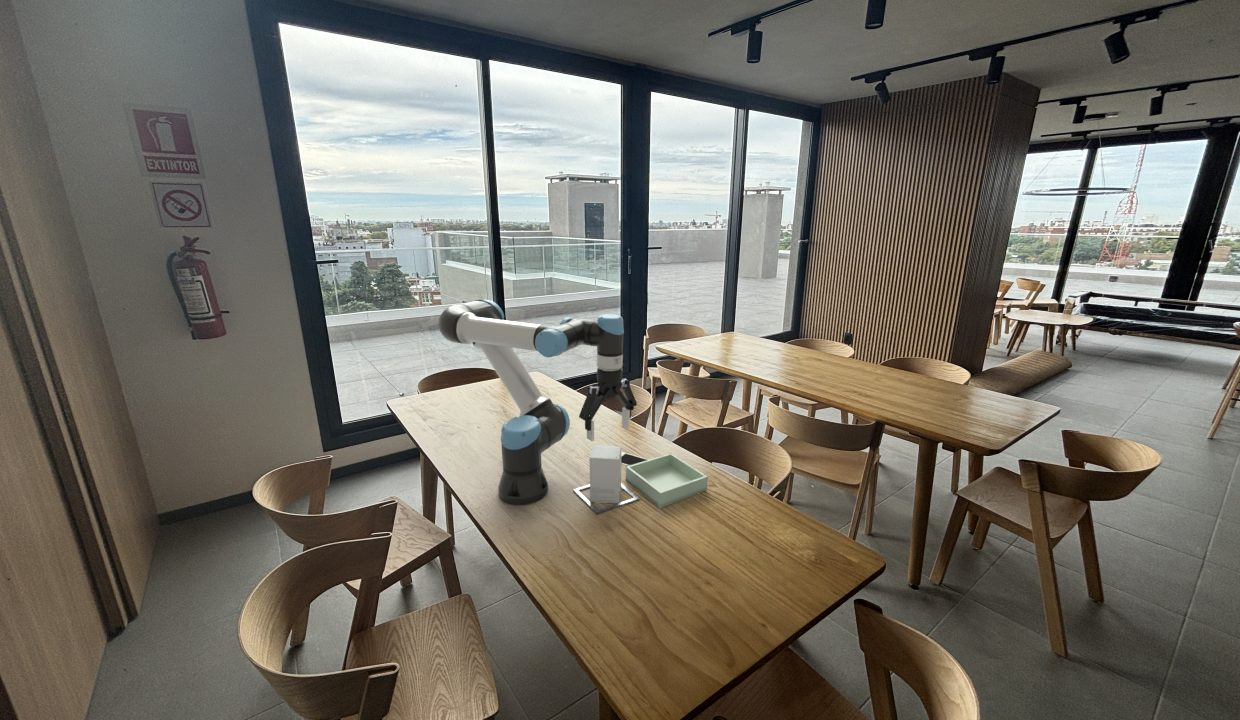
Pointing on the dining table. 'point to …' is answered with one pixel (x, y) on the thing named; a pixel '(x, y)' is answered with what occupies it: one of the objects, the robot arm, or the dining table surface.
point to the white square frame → (633, 499)
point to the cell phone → (630, 459)
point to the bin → (666, 479)
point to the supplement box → (605, 474)
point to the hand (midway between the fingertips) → (608, 433)
